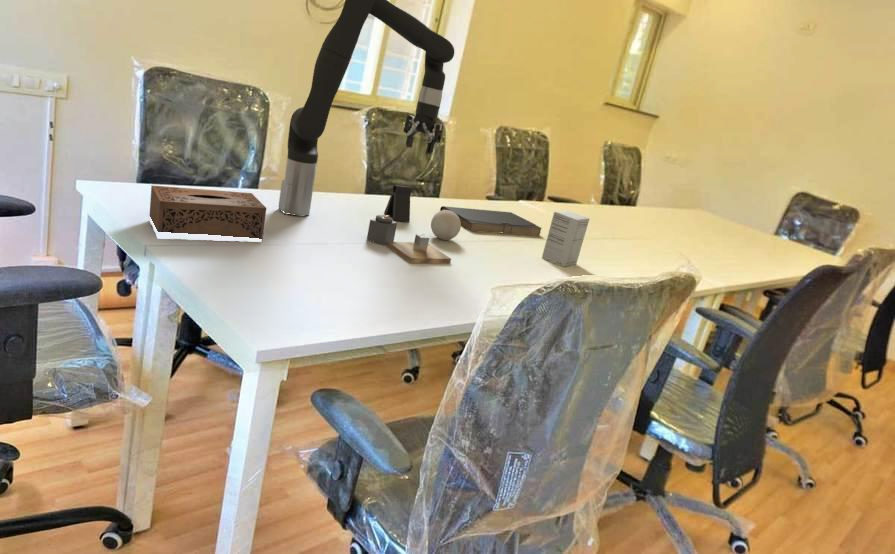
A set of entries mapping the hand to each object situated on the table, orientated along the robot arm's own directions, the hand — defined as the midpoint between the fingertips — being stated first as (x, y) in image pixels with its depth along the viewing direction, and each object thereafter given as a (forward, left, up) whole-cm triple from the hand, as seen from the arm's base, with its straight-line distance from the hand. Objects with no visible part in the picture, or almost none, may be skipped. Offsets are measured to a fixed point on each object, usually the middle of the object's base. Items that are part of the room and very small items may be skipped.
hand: (418, 150), depth 213 cm
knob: (-20, -20, -26) cm, 39 cm away
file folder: (+42, +4, -27) cm, 50 cm away
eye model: (+6, -16, -26) cm, 31 cm away
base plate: (-13, -32, -26) cm, 43 cm away
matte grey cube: (-13, -32, -24) cm, 43 cm away
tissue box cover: (-71, -17, -26) cm, 78 cm away
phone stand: (0, +6, -26) cm, 27 cm away
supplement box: (+42, -36, -26) cm, 61 cm away
